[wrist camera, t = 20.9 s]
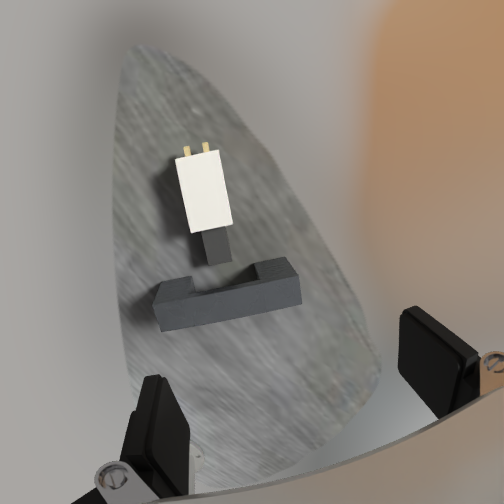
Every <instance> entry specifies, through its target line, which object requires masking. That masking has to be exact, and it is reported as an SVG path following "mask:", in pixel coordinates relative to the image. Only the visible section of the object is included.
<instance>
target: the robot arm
mask: <svg viewBox="0 0 504 504" xmlns="http://www.w3.org/2000/svg"><path fill="white" fill-rule="evenodd" d="M398 354H399V355H398V370H399V373H400V374H401V375H402V377H403V378H404V379H405V380H406V381H407V382H408V383H409V385H410V386H411V387H412V388H413V389H414V391H415V392H416V393H417V394H418V395H419V396H420V398H421V399H422V400H423V401H424V402H425V404H426V405H427V406H428V407H429V408H430V409H431V411H432V412H433V413H434V414H435V416H436V417H437V418H438V419H439V420H437V421H435V422H433V423H431V424H429V425H427V426H425V427H423V428H421V429H419V430H417V431H415V432H413V433H411V434H409V435H407V436H405V437H403V438H401V439H398V440H396V441H394V442H391V443H389V444H387V445H384V446H382V447H379V448H377V449H374V450H372V451H369V452H367V453H364V454H362V455H359V456H356V457H354V458H351V459H348V460H345V461H342V462H339V463H336V464H333V465H330V466H327V467H324V468H321V469H317V470H314V471H310V472H307V473H303V474H300V475H296V476H292V477H288V478H284V479H280V480H276V481H272V482H267V483H262V484H257V485H252V486H247V487H241V488H235V489H229V490H223V491H216V492H209V493H201V494H195V473H196V472H198V471H199V470H200V469H201V468H202V467H203V465H204V453H203V451H202V450H201V448H200V447H199V446H198V445H197V444H195V443H194V442H192V441H191V440H190V428H189V424H188V422H187V420H186V418H185V416H184V414H183V412H182V410H181V408H180V406H179V404H178V402H177V400H176V398H175V396H174V394H173V392H172V389H171V387H170V385H169V383H168V381H167V379H166V378H165V377H163V378H162V377H161V376H160V375H159V374H158V375H151V376H146V377H145V378H144V381H143V385H142V388H141V392H140V396H139V400H138V404H137V408H136V411H133V412H132V413H131V415H130V419H129V423H128V427H127V431H126V435H125V439H124V443H123V447H122V451H121V456H120V460H119V461H112V462H109V463H106V464H104V465H103V466H102V467H100V468H99V470H98V471H97V472H96V475H95V485H96V488H94V489H93V490H91V491H90V492H88V493H87V494H85V495H84V496H82V497H81V498H79V499H78V500H76V501H75V502H73V503H71V504H504V353H503V352H499V351H493V352H489V353H486V354H485V355H484V356H482V358H481V357H479V356H478V352H477V351H476V350H474V349H473V348H472V347H471V346H469V345H468V344H467V343H466V342H464V341H463V340H462V339H461V338H459V337H458V336H457V335H455V334H454V333H453V332H451V331H450V330H449V329H448V328H446V327H445V326H444V325H442V324H441V323H439V322H438V321H437V320H435V319H434V318H433V317H432V316H430V315H429V314H428V313H426V312H425V311H424V310H422V309H421V308H420V307H418V306H413V307H410V308H407V309H405V310H404V311H403V312H402V314H401V315H400V322H399V353H398Z"/></svg>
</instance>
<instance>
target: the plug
mask: <svg viewBox="0 0 504 504" xmlns="http://www.w3.org/2000/svg"><path fill="white" fill-rule="evenodd" d="M202 145H203V150H204V153H200V154H196V155H191V151H190V147H189V146H187V147H184V152H185V157H182V158H178V159H175V162H176V167H177V172H178V177H179V181H180V186H181V191H182V196H183V200H184V205H185V209H186V214H187V218H188V223H189V227H190V231H191V233H194V232H199V231H201V234H202V238H203V243H204V247H205V251H206V256H207V260H208V264H209V266H211V265H216V264H221V263H226V262H231V261H232V257H231V252H230V247H229V242H228V237H227V233H226V228H225V226H227V225H232V224H233V221H232V216H231V211H230V206H229V201H228V196H227V191H226V186H225V181H224V176H223V171H222V166H221V161H220V155H219V150H215V151H210V152H209V147H208V142H205V143H202Z"/></svg>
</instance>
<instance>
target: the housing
mask: <svg viewBox="0 0 504 504" xmlns="http://www.w3.org/2000/svg"><path fill="white" fill-rule="evenodd" d="M254 266H255V271H256V276H257V280H256V281H252V282H247V283H242V284H237V285H232V286H227V287H222V288H217V289H212V290H207V291H202V292H197V293H196V291H195V287H194V283H193V279H192V276H189V277H184V278H179V279H174V280H169V281H164V282H161V285H160V287H159V289H158V292H157V294H156V297H155V299H154V302H153V304H152V306H153V309H154V312H155V315H156V318H157V321H158V324H159V327H160V330H161V332H165V331H171V330H177V329H182V328H188V327H194V326H199V325H205V324H210V323H215V322H220V321H226V320H231V319H236V318H241V317H245V316H250V315H255V314H260V313H264V312H269V311H274V310H278V309H283V308H287V307H291V306H296V305H300V304H302V298H301V290H300V282H299V275H298V274H297V273H296V271H295V270H294V268H293V267H292V266H291V264H290V263H289V262H288V260H287V259H286V257H282V258H277V259H272V260H267V261H263V262H258V263H254Z"/></svg>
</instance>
